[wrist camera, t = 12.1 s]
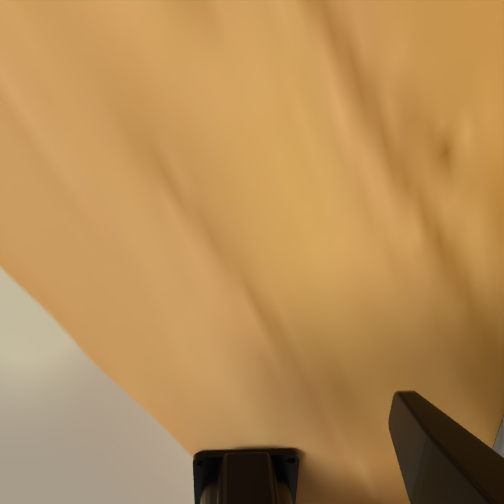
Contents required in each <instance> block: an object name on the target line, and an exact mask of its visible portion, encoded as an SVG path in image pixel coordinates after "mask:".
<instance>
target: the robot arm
mask: <svg viewBox="0 0 504 504" xmlns="http://www.w3.org/2000/svg"><path fill="white" fill-rule="evenodd" d="M389 430H390V434H391V438H392V441H393V445H394V448H395V452H396V455H397V459H398V462H399V466H400V469H401V473H402V476H403V480H404V483H405V487H406V490H407V494H408V497H409V500H410V503H411V504H504V457H502V456H501V455H500V454H498V453H497V452H496V451H494V450H493V449H492V448H490V447H489V446H488V445H486V444H485V443H484V442H482V441H481V440H480V439H478V438H477V437H476V436H474V435H473V434H471V433H470V432H469V431H467V430H466V429H465V428H463V427H462V426H461V425H459V424H458V423H457V422H455V421H454V420H453V419H451V418H450V417H449V416H447V415H446V414H445V413H443V412H442V411H441V410H439V409H438V408H437V407H435V406H434V405H433V404H431V403H430V402H429V401H427V400H426V399H425V398H423V397H422V396H421V395H419V394H418V393H417V392H415V391H397V392H395V394H394V396H393V400H392V405H391V410H390V415H389ZM200 460H202V461H200ZM298 468H299V456H298V452H297V451H296V450H293V449H283V450H249V451H214V452H198V453H196V454H195V455H194V458H193V476H194V497H195V504H295V500H296V490H297V479H298Z"/></svg>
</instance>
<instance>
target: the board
mask: <svg viewBox="0 0 504 504" xmlns="http://www.w3.org/2000/svg"><path fill="white" fill-rule="evenodd" d="M493 450H494V451H496V452H497V453H498V454H500V455H501V456H502V457H504V417H503V420H502V423H501V426H500V429H499V432H498V435H497V438H496V440H495V443H494V446H493Z"/></svg>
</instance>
